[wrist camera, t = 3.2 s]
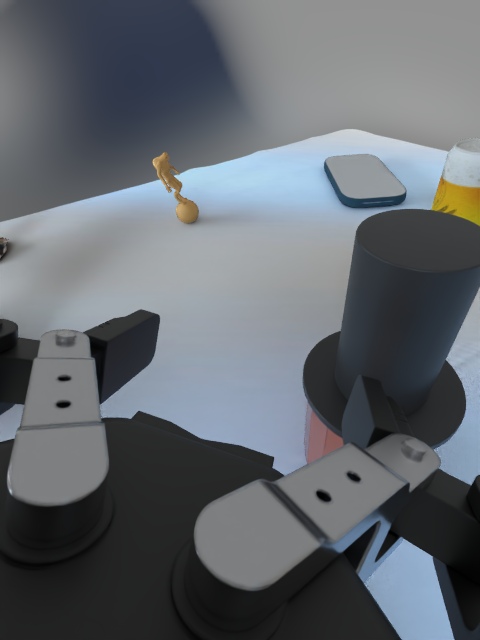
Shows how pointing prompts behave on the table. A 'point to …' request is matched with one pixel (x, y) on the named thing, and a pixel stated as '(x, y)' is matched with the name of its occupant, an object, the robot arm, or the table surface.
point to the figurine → (185, 208)
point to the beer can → (461, 182)
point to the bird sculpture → (2, 246)
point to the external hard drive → (363, 181)
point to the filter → (401, 321)
